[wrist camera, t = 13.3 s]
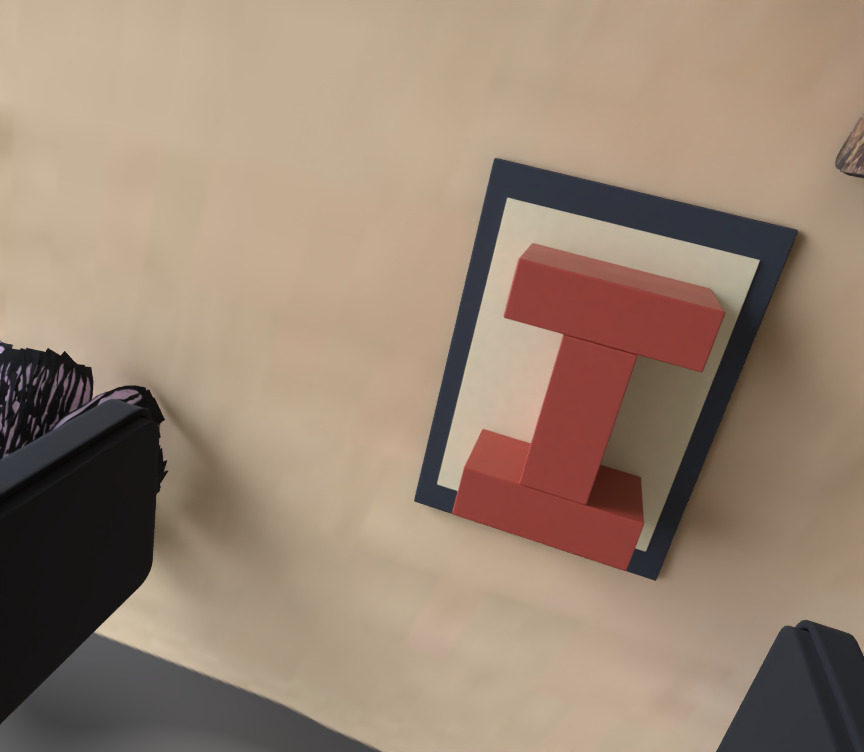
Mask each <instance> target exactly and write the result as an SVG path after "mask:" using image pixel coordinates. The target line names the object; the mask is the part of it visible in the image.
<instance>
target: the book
mask: <svg viewBox="0 0 864 752" xmlns="http://www.w3.org/2000/svg"><path fill="white" fill-rule="evenodd" d="M835 166H836V168H837V169H839V170H840V171H841V172H843V173H845V174H847V175H850V176H855V177H861V178H864V113H863V115H862V117H861V118H860V120H859V121H858V123H857V124H856V126H855V128H854V129H853V131H852V132H851V134H850V136H849V137H848V139H847V140H846V142H845V143H844V145H843V147H842V148H841V150H840V152H839V154H838V156H837V158H836V162H835Z"/></svg>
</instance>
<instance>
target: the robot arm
mask: <svg viewBox="0 0 864 752" xmlns="http://www.w3.org/2000/svg"><path fill="white" fill-rule="evenodd" d="M159 436H160V430H159V426H158V424H157V423H156V422H154V421H153V419H152V415H151V413H150V411H148V410H147V409H145V408H142V407H138V406H135V405H132V404H129V403H126V402H123V401H120V400H117V399H110V400H107V401H105V402H103V403H101V404H99V405H97V406H96V407H94V408H92V409H90V410H88V411H87V412H85V413H83V414H81V415H79V416H78V417H76V418H74V419H72V420H70V421H69V422H67V423H65V424H63V425H61V426H60V427H58V428H56V429H54V430H52V431H51V432H49V433H47V434H45V435H44V436H42V437H40V438H38V439H36V440H35V441H33V442H31V443H29V444H27V445H26V446H24V447H22V448H20V449H18V450H17V451H15V452H13V453H11V454H9V455H8V456H6V457H4V458H2V459H0V724H1V723H2V722H3V721H4V720H5V719H6V718H7V717H8V716H9V715H10V714H11V713H12V712H13V711H14V710H15V709H16V708H17V707H18V706H19V705H20V704H21V703H22V702H23V701H24V700H25V699H26V698H27V697H28V696H29V695H30V694H31V693H32V692H33V691H34V690H35V689H36V688H38V687H39V686H40V685H41V684H42V683H43V682H44V680H46V679H47V678H48V677H49V676H50V675H51V674H52V673H53V672H54V671H55V670H56V669H57V668H58V667H59V666H60V665H61V664H62V663H63V662H64V661H65V660H66V659H67V658H68V657H69V656H70V655H71V654H72V653H73V652H74V651H75V650H76V649H77V648H78V647H79V646H80V645H81V644H82V643H83V642H84V641H85V640H86V639H87V638H88V637H89V636H90V635H91V634H92V633H93V632H94V631H95V630H96V629H97V628H98V627H99V626H100V625H101V624H102V623H103V622H104V621H105V620H106V619H107V618H108V617H109V616H110V615H111V614H112V613H113V612H115V611H116V610H117V609H118V608H119V607H120V606H121V605H122V604H123V603H124V602H125V601H126V600H127V599H128V598H129V597H130V596H131V595H132V594H133V593H134V592H135V591H136V590H137V589H138V588H139V587H140V586H141V585H142V583H143V582H144V581H145V579H146V578H147V576H148V574H149V572H150V570H151V566H152V562H153V547H154V529H155V510H156V492H157V473H158V454H159ZM716 752H864V656H863V654H862V651H861V649H860V647H859V645H858V643H857V641H856V640H855V638H854V637H853V636H852V635H851V634H849V633H846V632H843V631H840V630H837V629H834V628H830V627H827V626H824V625H821V624H818V623H815V622H812V621H809V620H803V621H801V622H800V623H798V624H797V626H796V627H791V626H784V627H783V628H782V629H781V631H780V632H779V634H778V635H777V637H776V639H775V641H774V643H773V645H772V647H771V649H770V651H769V652H768V654H767V656H766V658H765V660H764V662H763V664H762V666H761V668H760V670H759V671H758V673H757V675H756V677H755V679H754V681H753V683H752V685H751V687H750V689H749V690H748V692H747V694H746V696H745V698H744V700H743V702H742V704H741V706H740V708H739V709H738V711H737V713H736V715H735V717H734V719H733V721H732V723H731V725H730V726H729V728H728V730H727V732H726V734H725V736H724V738H723V740H722V742H721V744H720V745H719V747H718V749H717V751H716Z"/></svg>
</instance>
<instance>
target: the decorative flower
mask: <svg viewBox="0 0 864 752" xmlns="http://www.w3.org/2000/svg"><path fill="white" fill-rule="evenodd" d="M12 346H13V345H11V344H5V343H3V342H1V341H0V459H2V458H4V457H6V456H8V455H9V454H11V453H13V452H15V451H17V450H18V449H20V448H22V447H24V446H26V445H27V444H29V443H31V442H33V441H35V440H36V439H38V438H40V437H42V436H44V435H45V434H47V433H49V432H51V431H52V430H54V429H56V428H58V427H60V426H61V425H63V424H65V423H67V422H69V421H70V420H72V419H74V418H76V417H78V416H79V415H81V414H83V413H85V412H87V411H88V410H90V409H92V408H94V407H96V406H97V405H99V404H101V403H103V402H105V401H107V400H110V399H117V400H120V401H123V402H126V403H129V404H132V405H135V406H138V407H142V408H145V409H147V410H148V411H150V413H151V415H152V419H153V421H154V422H156V423H157V424H158V426H159V428H160V423H161V422H162V421H164V420H165V419H164V417H163V415H162V412H161V410H160V408H159V406H158V404H157V402H156V400H155V398H153V397H152V394H151V392H150V390H147V391H146V388H145V387H140V386H123V387H118V388H116V389H114V390H111V391H109V392H105V393H102V394H100V395H97V396H96V397H94V398H93V399H92V396H93V376H92V369H91V367H85V365H79V364H77V363H76V362H74V361H73V360H72V358H71V357H70V356H69V355H68V354H67V353H66V352H65V351H64V352H63V354H62V355H61V356H60V355H59V354H57V353H55V352H54V351H52V350H50V349H49V348H48V349H47V350H46V352H43V351H38V350H34V349H29V348H26V350H25V349H22V348H21V349H20V350H17V349H12ZM91 399H92V400H91ZM160 437H161V436H159V438H160ZM166 462H167V460H166V461H164V462H163V453H162V448H161V449H160V445H159V454H158V473H157V492H156V494H157V493H158V492H159V491H160V488H161V487H160V483H161V482H162V480H163V479H164V477H165V475H166V474H167V472H168V471H165V472H164V469H165V466H166Z"/></svg>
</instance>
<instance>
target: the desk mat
mask: <svg viewBox="0 0 864 752" xmlns="http://www.w3.org/2000/svg"><path fill="white" fill-rule="evenodd" d="M797 233H798V231H797V230H795V229H791V228H787V227H783V226H779V225H774V224H770V223H766V222H762V221H758V220H753V219H749V218H745V217H741V216H737V215H732V214H728V213H724V212H720V211H716V210H711V209H707V208H703V207H699V206H695V205H691V204H686V203H682V202H678V201H674V200H670V199H665V198H661V197H657V196H653V195H649V194H644V193H640V192H636V191H632V190H628V189H623V188H619V187H615V186H611V185H607V184H602V183H598V182H594V181H590V180H586V179H581V178H577V177H573V176H569V175H565V174H561V173H556V172H552V171H548V170H544V169H540V168H535V167H531V166H527V165H523V164H519V163H514V162H510V161H506V160H502V159H498V158H495V159H494V162H493V166H492V170H491V174H490V179H489V183H488V187H487V192H486V196H485V200H484V204H483V209H482V213H481V217H480V222H479V226H478V230H477V234H476V239H475V243H474V247H473V251H472V256H471V260H470V264H469V269H468V273H467V277H466V281H465V286H464V290H463V294H462V298H461V303H460V307H459V311H458V316H457V320H456V324H455V328H454V333H453V337H452V341H451V345H450V350H449V354H448V358H447V363H446V367H445V371H444V375H443V380H442V384H441V388H440V392H439V397H438V401H437V405H436V410H435V414H434V418H433V422H432V427H431V431H430V435H429V440H428V444H427V448H426V452H425V457H424V461H423V465H422V469H421V474H420V478H419V482H418V487H417V491H416V495H415V499H414V501H415V502H418V503H421V504H424V505H427V506H430V507H433V508H436V509H439V510H442V511H445V512H448V513H451V514H452V511H453V507H454V504H455V500H456V496H457V492H458V488H459V484H460V480H461V477H462V473H463V469H464V466H465V464H466V462H467V460H468V458H469V456H470V454H471V452H472V450H473V447H474V445H475V443H476V441H477V439H478V437H479V435H480V433H481V431H482V429H485V430H489V431H492V432H495V433H498V434H502V435H505V436H508V437H511V438H515V439H518V440H521V441H525V442H528V443H531V441H532V438H533V434H534V431H535V427H536V424H537V421H538V417H539V414H540V411H541V407H542V404H543V401H544V397H545V394H546V390H547V387H548V384H549V380H550V377H551V374H552V370H553V367H554V364H555V360H556V357H557V353H558V350H559V347H560V343H561V340H562V337H563V334H560V333H557V332H553V331H550V330H546V329H542V328H539V327H535V326H532V325H528V324H524V323H521V322H517V321H514V320H510V319H506V318H504V316H503V315H504V311H505V308H506V304H507V300H508V296H509V292H510V288H511V284H512V281H513V277H514V273H515V269H516V265H517V261H518V259H519V258H520V257H521V255H522V254H523V253H524V252H525V251H526V250H527V248H528V247H529V246H530V245H531V244H532V243H535V244H539V245H543V246H547V247H550V248H554V249H558V250H562V251H566V252H570V253H574V254H578V255H582V256H585V257H589V258H593V259H597V260H601V261H605V262H609V263H613V264H617V265H620V266H624V267H628V268H632V269H636V270H640V271H644V272H648V273H652V274H655V275H659V276H663V277H667V278H671V279H675V280H679V281H683V282H687V283H690V284H694V285H698V286H702V287H706V288H710V289H711V290H712V292H713V293H714V295H715V297H716V298H717V300H718V302H719V303H720V305H721V306H722V308H723V310H724V311H725V316H724V318H723V321H722V324H721V326H720V329H719V331H718V334H717V337H716V339H715V342H714V344H713V347H712V350H711V352H710V355H709V357H708V360H707V363H706V365H705V368H704V370H703V372H697V371H694V370H690V369H687V368H683V367H679V366H676V365H672V364H669V363H665V362H661V361H658V360H654V359H651V358H647V357H643V356H640V355H637V356H638V357H637V360H636V363H635V366H634V368H633V371H632V374H631V377H630V380H629V383H628V386H627V389H626V392H625V395H624V398H623V400H622V403H621V406H620V409H619V412H618V415H617V418H616V421H615V424H614V427H613V430H612V432H611V435H610V438H609V441H608V444H607V447H606V450H605V453H604V456H603V459H602V462H601V464H600V465H603V466H606V467H610V468H613V469H616V470H619V471H623V472H626V473H629V474H632V475H636V476H639V477H641V483H642V499H643V515H644V526H643V529H642V532H641V534H640V537H639V539H638V542H637V545H636V547H635V550H634V552H633V555H632V558H631V560H630V563H629V565H628V568H627V570H626V571H628V572H631V573H634V574H637V575H640V576H643V577H646V578H649V579H652V580H655V581H656V579H657V577H658V574H659V572H660V569H661V567H662V564H663V562H664V560H665V557H666V555H667V552H668V550H669V547H670V545H671V542H672V540H673V537H674V535H675V532H676V530H677V528H678V525H679V523H680V520H681V518H682V515H683V513H684V510H685V508H686V505H687V503H688V501H689V498H690V496H691V493H692V491H693V488H694V486H695V483H696V481H697V478H698V476H699V473H700V471H701V469H702V466H703V464H704V461H705V459H706V456H707V454H708V451H709V449H710V446H711V444H712V442H713V439H714V437H715V434H716V432H717V429H718V427H719V424H720V422H721V419H722V417H723V414H724V412H725V410H726V407H727V405H728V402H729V400H730V397H731V395H732V392H733V390H734V387H735V385H736V383H737V380H738V378H739V375H740V373H741V370H742V368H743V365H744V363H745V360H746V358H747V356H748V353H749V351H750V348H751V346H752V343H753V341H754V338H755V336H756V333H757V331H758V328H759V326H760V324H761V321H762V319H763V316H764V314H765V311H766V309H767V306H768V304H769V301H770V299H771V297H772V294H773V292H774V289H775V287H776V284H777V282H778V279H779V277H780V274H781V272H782V269H783V267H784V265H785V262H786V260H787V257H788V255H789V252H790V250H791V247H792V245H793V242H794V240H795V238H796V235H797Z"/></svg>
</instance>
